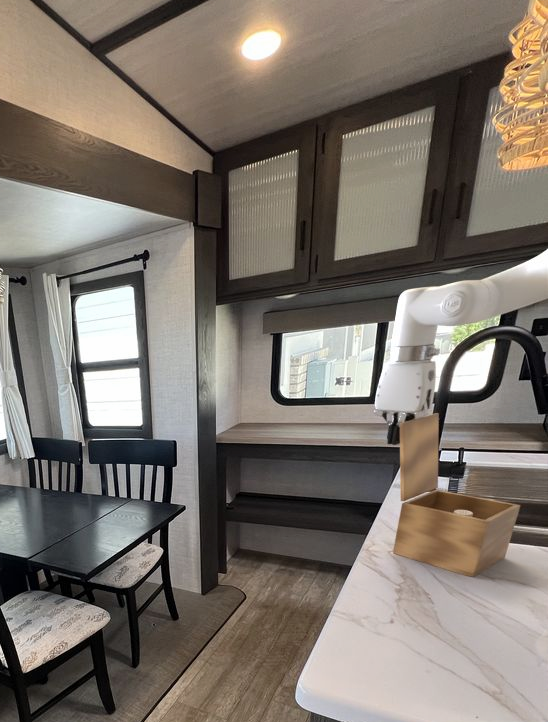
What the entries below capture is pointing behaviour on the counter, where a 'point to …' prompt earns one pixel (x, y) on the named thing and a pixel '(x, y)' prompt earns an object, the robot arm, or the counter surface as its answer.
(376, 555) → the counter surface
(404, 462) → the lid
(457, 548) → the chest
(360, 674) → the counter surface
